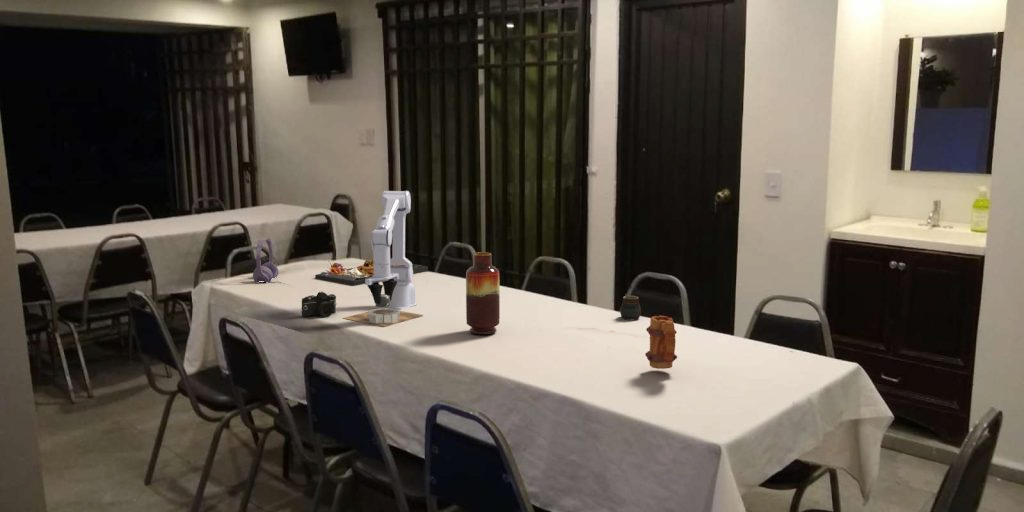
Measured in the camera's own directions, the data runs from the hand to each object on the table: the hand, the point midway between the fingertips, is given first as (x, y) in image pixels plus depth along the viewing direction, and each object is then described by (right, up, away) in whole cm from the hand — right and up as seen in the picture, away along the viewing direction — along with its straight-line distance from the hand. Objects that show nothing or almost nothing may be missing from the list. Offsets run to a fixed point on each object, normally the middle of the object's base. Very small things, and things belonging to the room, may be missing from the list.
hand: (382, 302), depth 287 cm
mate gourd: (+87, -7, +4) cm, 87 cm away
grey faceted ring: (0, -6, +1) cm, 6 cm away
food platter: (-17, +5, +80) cm, 82 cm away
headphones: (-62, +4, +72) cm, 95 cm away
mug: (+87, -16, -57) cm, 105 cm away
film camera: (-25, -7, +8) cm, 27 cm away
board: (-1, -6, +7) cm, 9 cm away
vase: (+35, -9, -13) cm, 39 cm away
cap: (0, -1, 0) cm, 1 cm away
